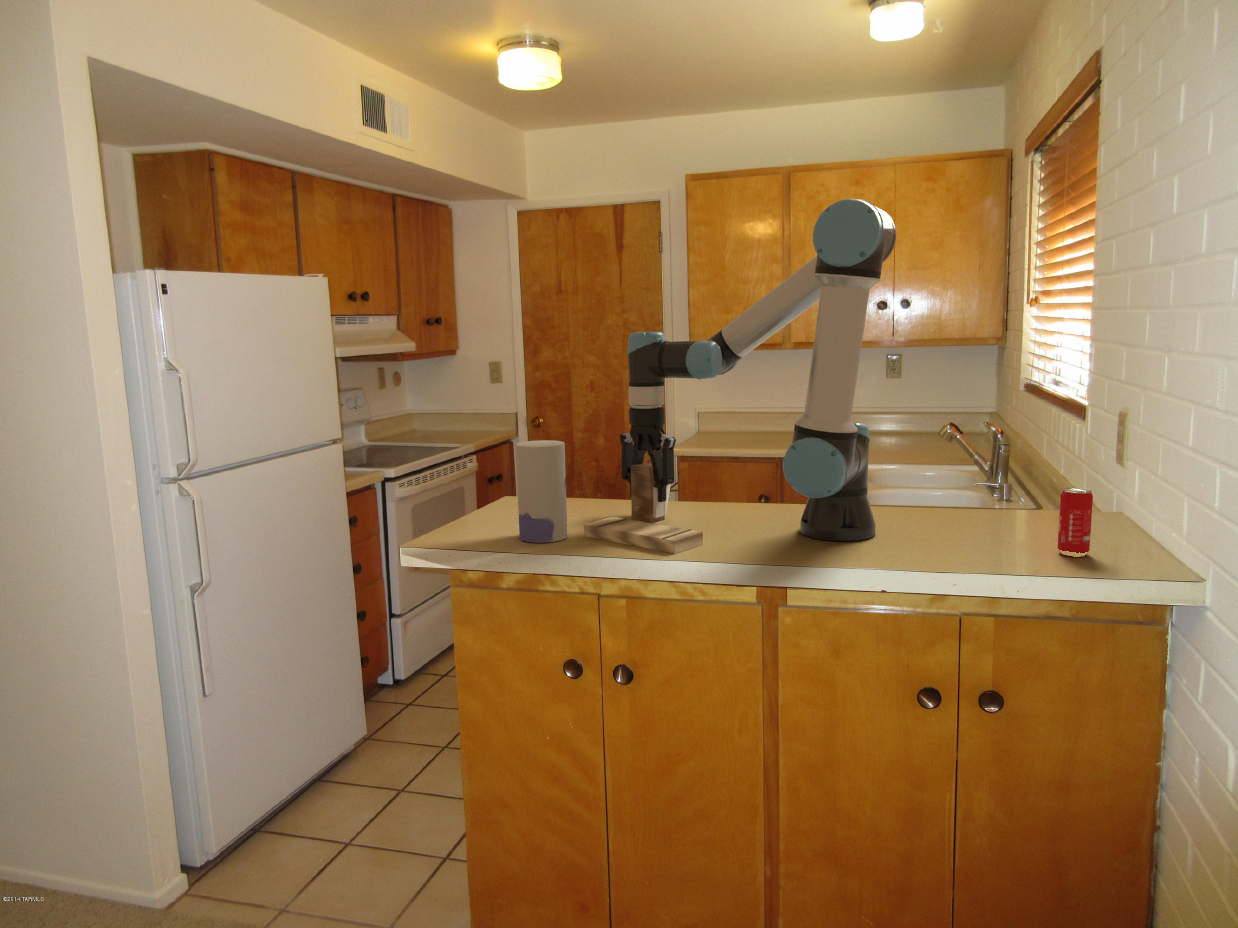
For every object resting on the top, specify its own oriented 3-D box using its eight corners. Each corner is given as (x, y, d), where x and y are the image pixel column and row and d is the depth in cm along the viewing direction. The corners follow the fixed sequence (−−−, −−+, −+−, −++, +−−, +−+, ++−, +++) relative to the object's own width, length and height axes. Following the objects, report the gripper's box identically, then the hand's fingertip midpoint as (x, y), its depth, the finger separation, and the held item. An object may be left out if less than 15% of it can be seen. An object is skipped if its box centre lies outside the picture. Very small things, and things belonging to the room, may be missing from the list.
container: (577, 535, 179) (574, 441, 176) (547, 545, 171) (543, 447, 168) (540, 529, 185) (536, 438, 182) (509, 539, 177) (505, 444, 174)
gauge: (664, 519, 182) (664, 464, 180) (645, 525, 178) (644, 468, 176) (646, 516, 186) (645, 462, 184) (627, 522, 181) (626, 466, 179)
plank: (702, 544, 170) (702, 531, 169) (675, 553, 163) (675, 540, 163) (612, 527, 185) (612, 516, 185) (584, 535, 179) (583, 523, 178)
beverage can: (1072, 559, 154) (1076, 493, 152) (1050, 552, 158) (1054, 488, 157) (1095, 556, 155) (1100, 491, 153) (1073, 549, 160) (1077, 486, 158)
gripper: (692, 406, 175) (692, 517, 179) (625, 402, 187) (627, 506, 191) (670, 409, 170) (671, 523, 173) (602, 405, 181) (604, 512, 185)
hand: (648, 514), depth 182 cm, fingers closed on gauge, 5 cm apart
